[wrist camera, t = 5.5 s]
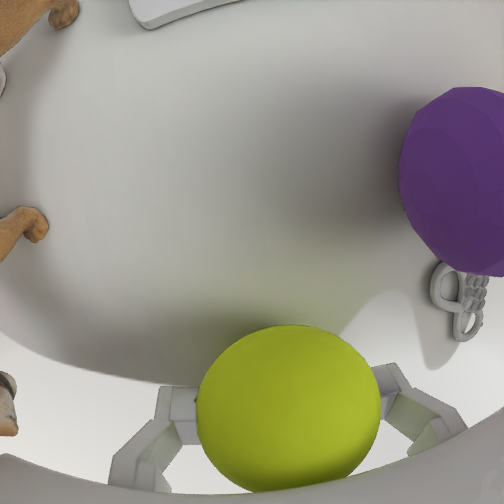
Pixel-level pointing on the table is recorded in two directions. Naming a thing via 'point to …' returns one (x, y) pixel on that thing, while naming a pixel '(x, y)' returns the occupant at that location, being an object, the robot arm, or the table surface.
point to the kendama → (457, 179)
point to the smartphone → (168, 10)
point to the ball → (288, 409)
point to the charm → (461, 299)
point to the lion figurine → (23, 218)
